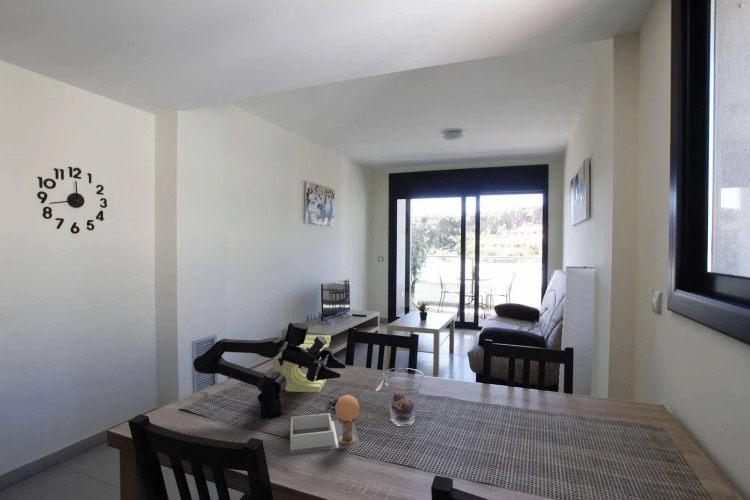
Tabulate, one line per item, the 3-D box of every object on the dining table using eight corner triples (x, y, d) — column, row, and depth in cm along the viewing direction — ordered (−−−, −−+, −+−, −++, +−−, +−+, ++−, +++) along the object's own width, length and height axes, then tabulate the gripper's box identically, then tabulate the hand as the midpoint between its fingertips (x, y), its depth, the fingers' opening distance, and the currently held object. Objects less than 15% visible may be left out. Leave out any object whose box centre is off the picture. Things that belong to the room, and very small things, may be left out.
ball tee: (339, 446, 106) (339, 423, 106) (338, 437, 111) (337, 415, 111) (357, 444, 107) (356, 421, 107) (354, 435, 112) (354, 414, 112)
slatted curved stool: (296, 373, 171) (296, 334, 171) (330, 374, 169) (330, 335, 169) (272, 399, 141) (272, 352, 141) (313, 401, 140) (313, 353, 139)
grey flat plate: (289, 456, 102) (289, 453, 102) (290, 427, 119) (290, 425, 119) (361, 447, 107) (361, 445, 107) (352, 420, 123) (352, 418, 123)
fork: (370, 393, 147) (370, 389, 147) (386, 374, 170) (386, 370, 170) (378, 394, 146) (378, 390, 146) (393, 374, 169) (393, 371, 169)
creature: (319, 414, 131) (335, 415, 126) (316, 398, 132) (332, 399, 127) (334, 406, 137) (350, 407, 132) (332, 392, 138) (347, 392, 133)
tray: (290, 450, 104) (290, 436, 104) (291, 429, 116) (290, 416, 116) (333, 445, 107) (333, 431, 107) (329, 425, 119) (329, 413, 119)
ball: (336, 426, 105) (336, 401, 105) (334, 415, 112) (334, 392, 112) (360, 423, 106) (360, 399, 106) (357, 413, 113) (357, 390, 113)
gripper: (298, 340, 117) (344, 356, 115) (313, 328, 135) (354, 341, 134) (288, 374, 117) (334, 390, 116) (305, 357, 136) (345, 370, 134)
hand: (342, 371), depth 125 cm, fingers open, 9 cm apart
